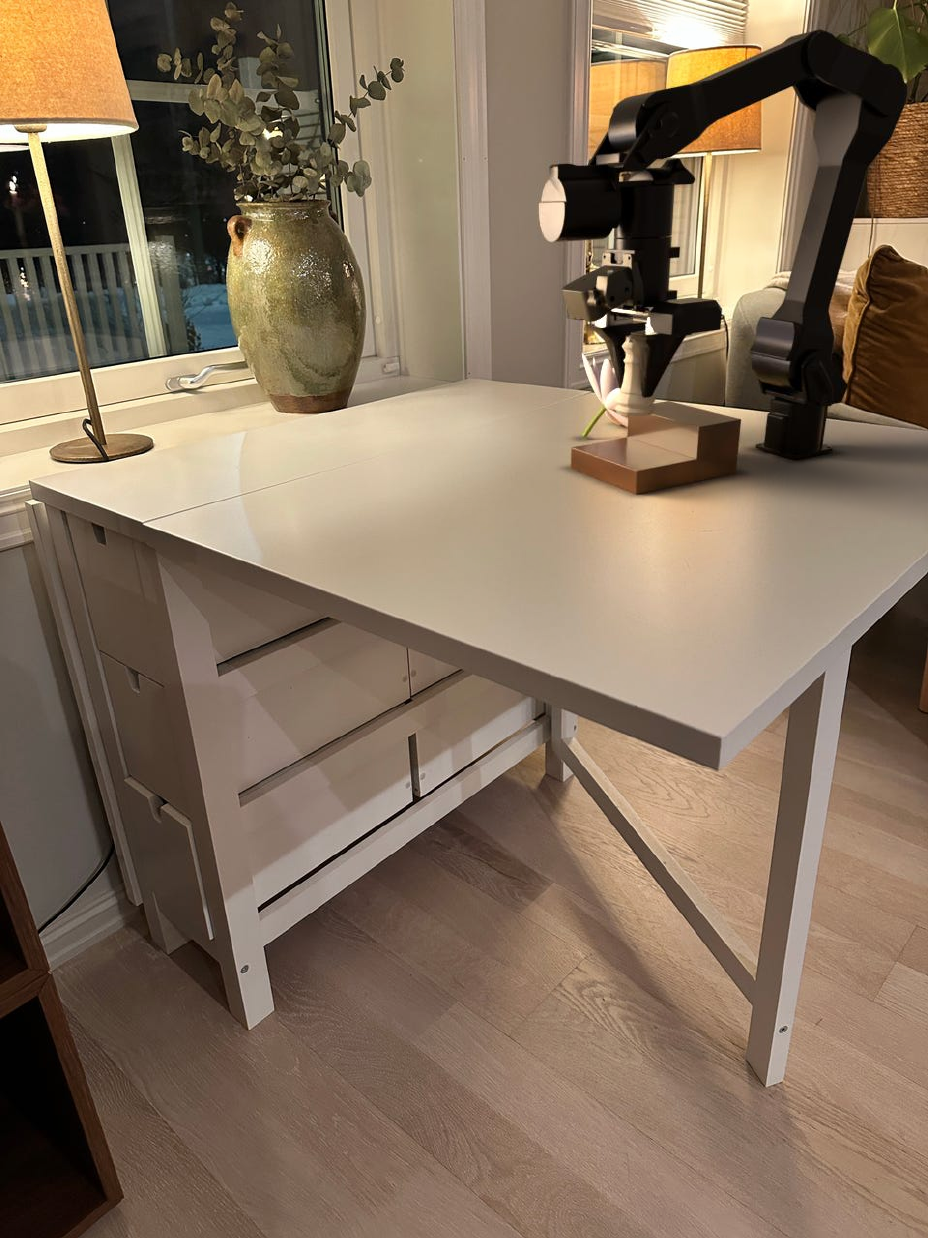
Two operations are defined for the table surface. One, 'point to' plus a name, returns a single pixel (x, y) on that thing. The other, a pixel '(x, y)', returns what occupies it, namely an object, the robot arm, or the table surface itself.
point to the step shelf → (664, 449)
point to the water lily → (604, 392)
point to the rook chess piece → (633, 385)
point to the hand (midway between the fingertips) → (635, 394)
